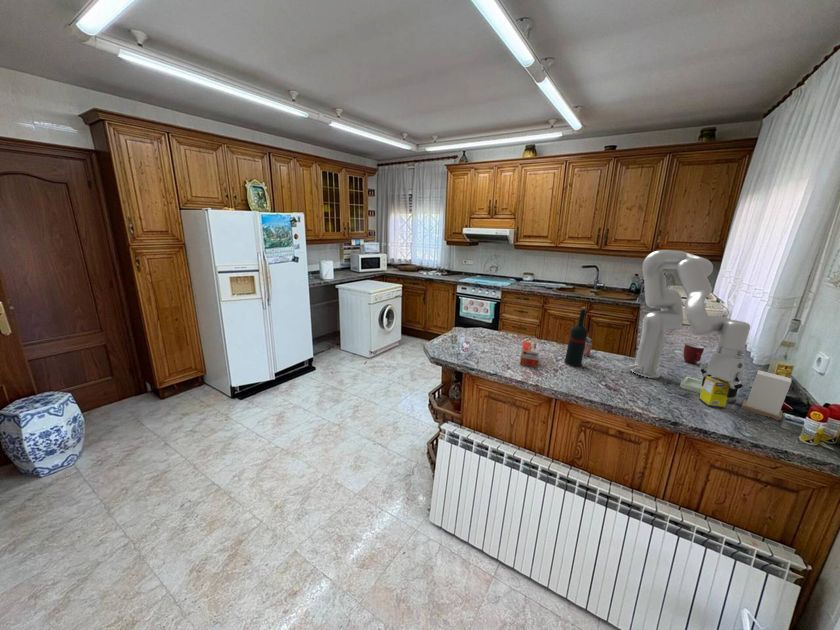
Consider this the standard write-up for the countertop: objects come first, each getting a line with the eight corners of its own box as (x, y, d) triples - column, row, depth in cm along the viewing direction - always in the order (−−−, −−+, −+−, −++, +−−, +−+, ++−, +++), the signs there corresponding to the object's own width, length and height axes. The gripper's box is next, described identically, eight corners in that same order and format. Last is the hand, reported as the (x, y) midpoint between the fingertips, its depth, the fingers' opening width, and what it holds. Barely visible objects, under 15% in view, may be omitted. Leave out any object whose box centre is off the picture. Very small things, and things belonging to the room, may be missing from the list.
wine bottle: (579, 360, 171) (590, 305, 163) (582, 367, 162) (594, 310, 154) (563, 358, 173) (573, 303, 165) (565, 365, 164) (576, 308, 156)
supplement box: (724, 409, 129) (733, 384, 126) (707, 406, 130) (715, 382, 127) (714, 401, 135) (722, 377, 132) (698, 399, 136) (705, 375, 133)
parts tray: (714, 398, 138) (715, 393, 137) (679, 387, 146) (680, 383, 146) (718, 390, 145) (719, 386, 145) (685, 380, 154) (686, 376, 154)
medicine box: (536, 367, 159) (539, 352, 157) (519, 364, 161) (522, 350, 159) (536, 357, 173) (538, 343, 171) (520, 354, 175) (522, 340, 173)
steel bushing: (729, 404, 133) (732, 395, 132) (716, 398, 138) (719, 389, 137) (738, 403, 134) (741, 395, 133) (725, 397, 139) (728, 389, 138)
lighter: (577, 351, 184) (580, 335, 182) (582, 351, 185) (586, 335, 182) (585, 357, 177) (589, 339, 174) (591, 357, 177) (594, 340, 174)
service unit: (780, 421, 122) (795, 384, 118) (740, 408, 130) (753, 373, 126) (781, 414, 128) (795, 378, 124) (743, 402, 136) (755, 368, 131)
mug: (706, 368, 171) (712, 350, 168) (690, 366, 172) (695, 349, 169) (691, 360, 181) (696, 343, 179) (677, 359, 182) (681, 342, 179)
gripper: (762, 359, 119) (749, 401, 123) (713, 344, 135) (703, 381, 139) (746, 360, 117) (733, 402, 121) (699, 344, 134) (689, 382, 138)
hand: (717, 391), depth 130 cm, fingers open, 9 cm apart
